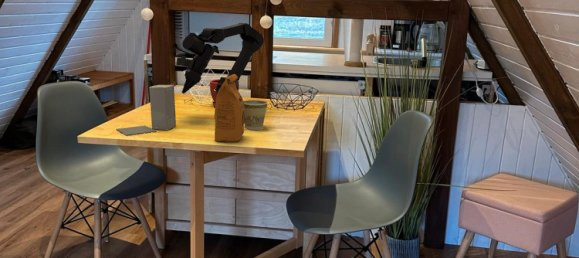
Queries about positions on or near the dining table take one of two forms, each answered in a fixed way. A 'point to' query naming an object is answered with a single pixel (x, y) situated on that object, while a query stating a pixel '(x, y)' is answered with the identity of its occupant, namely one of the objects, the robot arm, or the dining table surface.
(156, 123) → the skincare box
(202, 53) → the robot arm
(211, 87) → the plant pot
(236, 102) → the coffee package
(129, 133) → the mat
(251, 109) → the ceramic cup
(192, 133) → the dining table surface
